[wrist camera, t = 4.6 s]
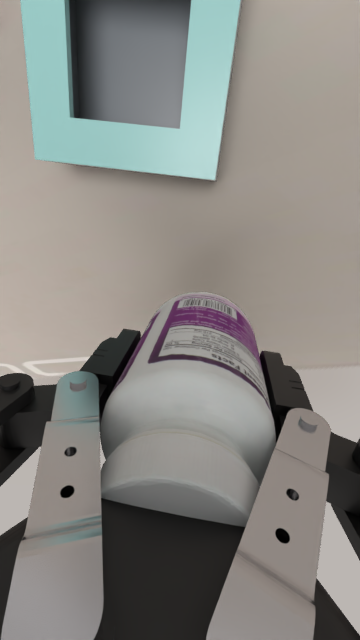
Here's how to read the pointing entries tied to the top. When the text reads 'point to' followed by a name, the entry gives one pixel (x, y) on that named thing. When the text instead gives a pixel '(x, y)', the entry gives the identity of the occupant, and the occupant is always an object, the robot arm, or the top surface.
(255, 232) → the top surface
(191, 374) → the pill bottle
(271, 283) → the top surface
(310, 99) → the top surface
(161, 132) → the bin
